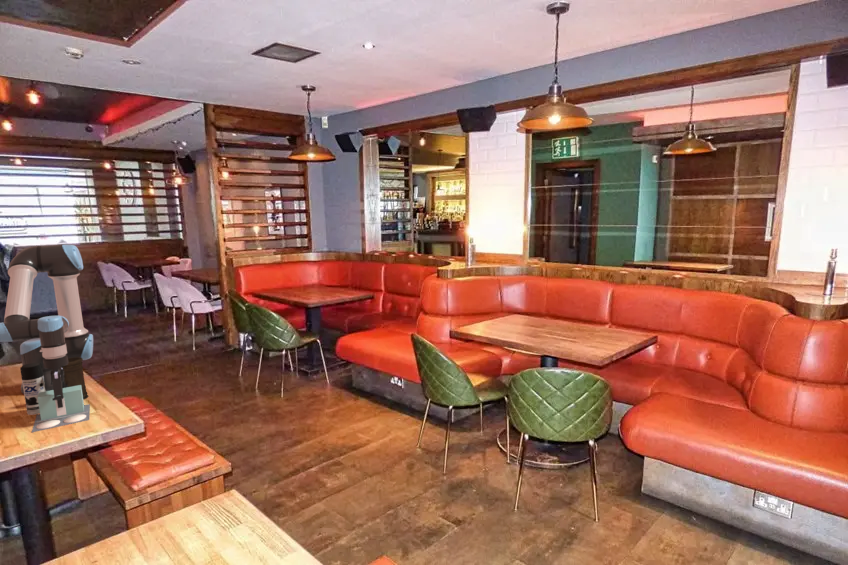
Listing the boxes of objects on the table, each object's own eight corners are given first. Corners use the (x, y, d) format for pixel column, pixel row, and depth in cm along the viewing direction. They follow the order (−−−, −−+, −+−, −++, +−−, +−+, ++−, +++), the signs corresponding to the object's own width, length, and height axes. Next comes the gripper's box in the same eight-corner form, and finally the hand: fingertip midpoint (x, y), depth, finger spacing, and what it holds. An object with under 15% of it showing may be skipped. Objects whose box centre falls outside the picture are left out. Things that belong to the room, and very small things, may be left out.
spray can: (23, 418, 184) (16, 368, 181) (32, 411, 191) (25, 363, 188) (44, 415, 186) (36, 366, 183) (52, 408, 193) (45, 361, 190)
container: (75, 405, 195) (69, 363, 192) (57, 404, 197) (51, 362, 194) (94, 397, 204) (88, 357, 201) (76, 396, 206) (71, 356, 203)
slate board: (37, 417, 185) (34, 400, 184) (90, 406, 194) (87, 390, 193) (31, 435, 170) (29, 416, 169) (89, 422, 179) (87, 404, 178)
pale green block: (42, 414, 185) (39, 392, 184) (84, 406, 192) (81, 384, 191) (41, 420, 180) (37, 397, 178) (83, 411, 187) (80, 389, 185)
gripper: (45, 350, 190) (53, 401, 193) (39, 366, 170) (48, 422, 174) (68, 347, 194) (75, 397, 198) (65, 362, 175) (73, 417, 178)
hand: (62, 409), depth 186 cm, fingers open, 12 cm apart
